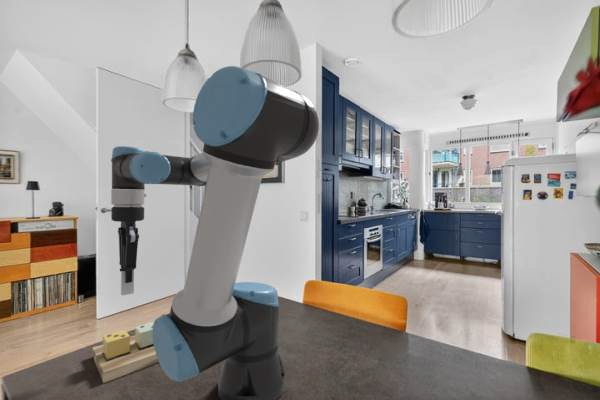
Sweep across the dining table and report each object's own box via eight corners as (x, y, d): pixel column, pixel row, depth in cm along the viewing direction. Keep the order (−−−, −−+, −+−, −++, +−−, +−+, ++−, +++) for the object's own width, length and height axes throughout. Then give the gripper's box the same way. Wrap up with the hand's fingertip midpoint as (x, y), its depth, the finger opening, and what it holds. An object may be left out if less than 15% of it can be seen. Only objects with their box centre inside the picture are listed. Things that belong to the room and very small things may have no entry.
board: (199, 347, 82) (199, 338, 82) (103, 383, 66) (103, 372, 66) (179, 329, 93) (179, 322, 93) (92, 356, 77) (92, 347, 77)
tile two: (160, 341, 79) (160, 326, 79) (140, 347, 76) (140, 332, 76) (154, 335, 83) (154, 321, 83) (135, 341, 80) (135, 326, 80)
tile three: (129, 351, 74) (129, 335, 74) (106, 358, 71) (106, 342, 71) (125, 344, 78) (125, 329, 78) (103, 350, 74) (103, 335, 74)
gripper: (150, 206, 74) (149, 297, 74) (138, 204, 84) (137, 284, 84) (116, 207, 69) (115, 304, 69) (107, 204, 79) (106, 289, 79)
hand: (127, 293), depth 77 cm, fingers closed
